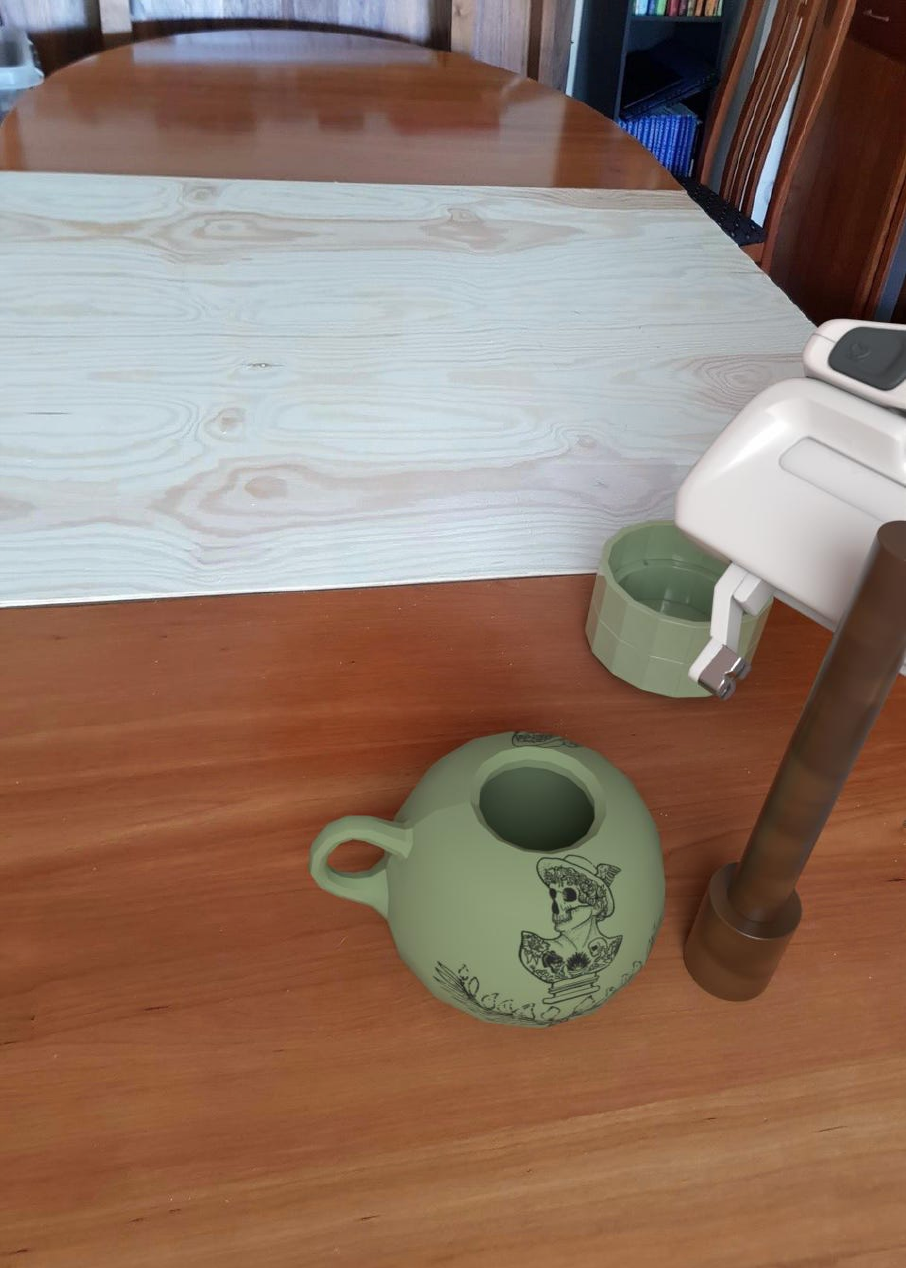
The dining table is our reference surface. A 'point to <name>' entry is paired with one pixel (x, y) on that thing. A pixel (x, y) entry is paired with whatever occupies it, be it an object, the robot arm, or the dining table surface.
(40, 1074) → the dining table surface
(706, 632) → the bowl
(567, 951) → the mug
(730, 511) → the robot arm
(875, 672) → the wooden pestle
